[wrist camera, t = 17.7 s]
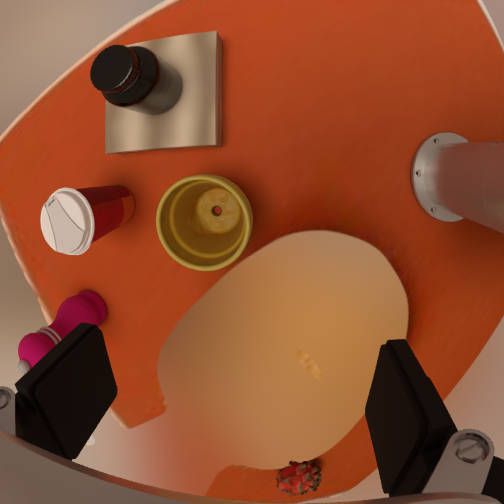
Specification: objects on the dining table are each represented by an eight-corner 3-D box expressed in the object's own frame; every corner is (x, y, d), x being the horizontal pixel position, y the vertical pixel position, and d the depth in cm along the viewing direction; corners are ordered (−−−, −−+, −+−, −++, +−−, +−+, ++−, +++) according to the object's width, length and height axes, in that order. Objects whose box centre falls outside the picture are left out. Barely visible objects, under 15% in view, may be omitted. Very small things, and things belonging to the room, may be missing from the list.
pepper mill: (99, 332, 50) (35, 401, 31) (70, 305, 49) (-2, 364, 30) (116, 307, 48) (45, 377, 29) (84, 278, 47) (5, 335, 28)
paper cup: (90, 194, 43) (28, 210, 30) (127, 168, 42) (68, 175, 28) (112, 239, 45) (57, 269, 31) (151, 216, 43) (99, 241, 30)
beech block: (222, 41, 35) (216, 31, 32) (221, 146, 40) (215, 144, 36) (122, 56, 37) (109, 49, 33) (119, 153, 41) (105, 153, 37)
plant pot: (184, 247, 44) (159, 271, 35) (179, 173, 41) (151, 178, 32) (259, 247, 43) (252, 272, 34) (257, 170, 40) (249, 172, 31)
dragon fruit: (323, 448, 55) (284, 465, 60) (297, 456, 50) (257, 472, 55) (337, 482, 50) (296, 495, 55) (313, 493, 44) (270, 505, 49)
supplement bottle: (124, 96, 35) (69, 80, 23) (157, 55, 33) (113, 23, 22) (158, 126, 36) (110, 116, 24) (195, 84, 34) (158, 55, 22)
